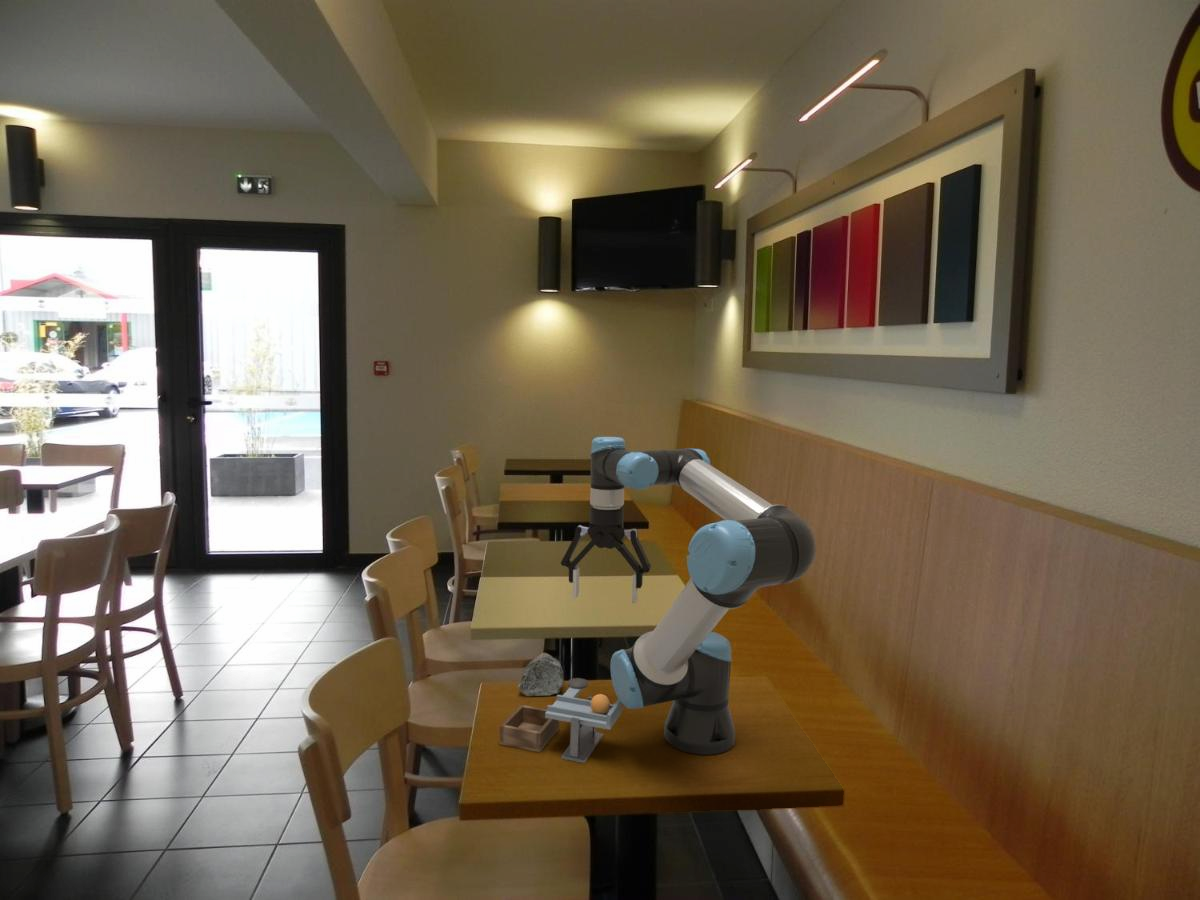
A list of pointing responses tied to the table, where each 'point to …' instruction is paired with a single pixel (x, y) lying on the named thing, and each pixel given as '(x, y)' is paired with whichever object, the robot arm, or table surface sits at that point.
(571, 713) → the seesaw
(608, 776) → the table surface
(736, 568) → the robot arm
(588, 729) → the pivot stand
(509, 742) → the tray
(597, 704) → the ball
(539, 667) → the stone
